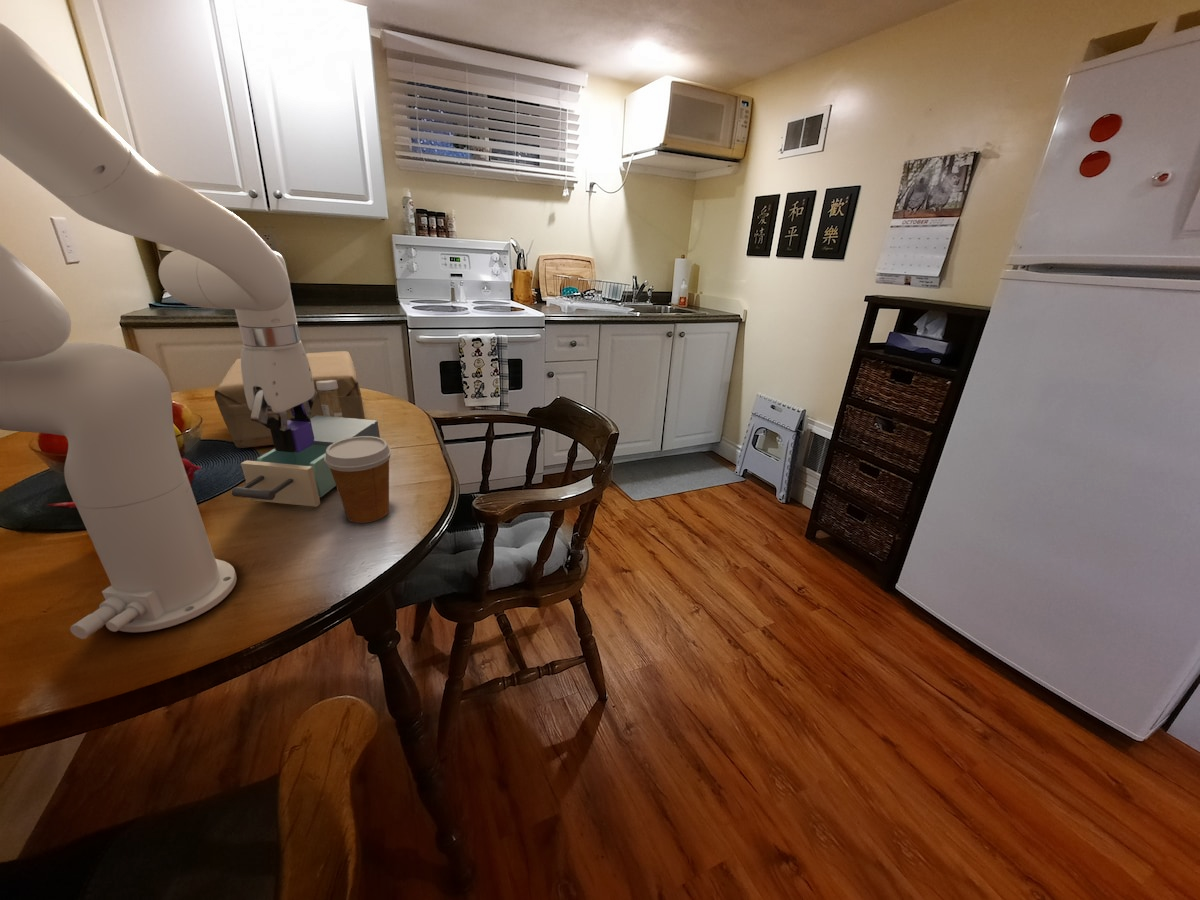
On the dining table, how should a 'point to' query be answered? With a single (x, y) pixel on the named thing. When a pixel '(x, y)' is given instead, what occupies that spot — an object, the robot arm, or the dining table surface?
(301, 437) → the cube
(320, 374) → the paper package
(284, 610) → the dining table surface
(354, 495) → the disposable coffee cup
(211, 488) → the dining table surface
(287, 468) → the drawer
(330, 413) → the sprinkles bottle
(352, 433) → the drawer cabinet
